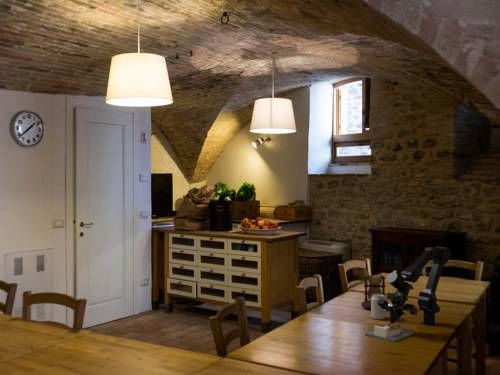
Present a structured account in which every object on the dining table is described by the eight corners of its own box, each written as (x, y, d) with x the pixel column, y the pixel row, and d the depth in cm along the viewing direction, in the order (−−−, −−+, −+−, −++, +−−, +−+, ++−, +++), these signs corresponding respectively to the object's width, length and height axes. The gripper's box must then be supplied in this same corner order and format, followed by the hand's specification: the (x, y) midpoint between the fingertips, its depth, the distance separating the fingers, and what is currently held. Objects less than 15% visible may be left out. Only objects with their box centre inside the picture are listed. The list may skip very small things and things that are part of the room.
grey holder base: (384, 328, 262) (384, 317, 262) (413, 334, 251) (413, 323, 251) (365, 335, 250) (365, 324, 250) (394, 342, 239) (394, 331, 239)
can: (386, 320, 276) (386, 296, 276) (371, 319, 278) (371, 296, 278) (385, 316, 284) (385, 293, 283) (371, 315, 285) (370, 293, 285)
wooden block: (390, 322, 256) (378, 320, 248) (399, 324, 252) (387, 322, 245) (390, 325, 255) (377, 323, 248) (399, 327, 252) (387, 325, 244)
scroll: (387, 305, 308) (387, 270, 308) (389, 312, 293) (389, 275, 293) (360, 304, 310) (360, 270, 310) (361, 311, 296) (361, 274, 296)
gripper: (377, 282, 260) (366, 311, 254) (412, 287, 247) (402, 318, 241) (387, 293, 267) (377, 322, 260) (422, 299, 253) (412, 330, 247)
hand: (391, 323), depth 252 cm, fingers closed, pressing on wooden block
